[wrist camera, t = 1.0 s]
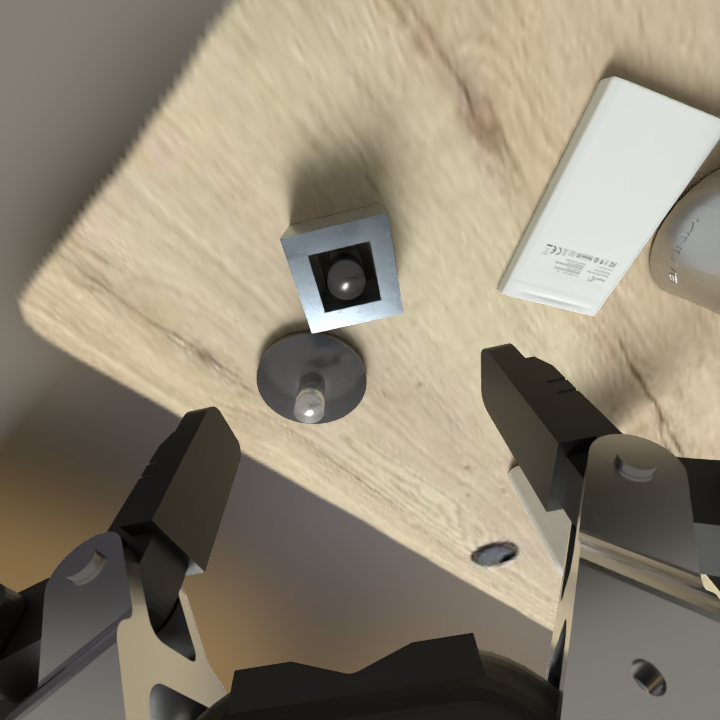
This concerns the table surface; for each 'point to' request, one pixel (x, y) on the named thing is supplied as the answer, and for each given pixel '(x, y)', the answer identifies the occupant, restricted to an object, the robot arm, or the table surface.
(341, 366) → the hub
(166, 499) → the robot arm
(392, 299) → the hollow square housing
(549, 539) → the photo printer
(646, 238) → the external hard drive
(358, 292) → the stand rod
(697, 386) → the table surface
